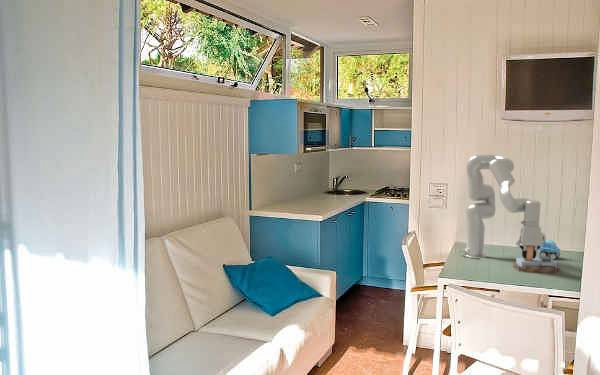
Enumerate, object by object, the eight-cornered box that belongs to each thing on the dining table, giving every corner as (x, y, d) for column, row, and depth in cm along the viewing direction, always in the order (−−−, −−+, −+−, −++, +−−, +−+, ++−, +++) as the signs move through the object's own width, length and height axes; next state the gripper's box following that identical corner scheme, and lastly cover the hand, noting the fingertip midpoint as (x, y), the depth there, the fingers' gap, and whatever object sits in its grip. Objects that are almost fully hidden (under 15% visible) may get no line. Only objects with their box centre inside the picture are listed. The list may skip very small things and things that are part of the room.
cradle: (519, 274, 278) (520, 266, 277) (511, 268, 291) (511, 260, 290) (561, 276, 277) (561, 267, 276) (551, 269, 290) (551, 261, 289)
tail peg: (525, 264, 282) (527, 245, 280) (523, 262, 286) (524, 244, 284) (533, 264, 281) (535, 246, 280) (530, 262, 285) (532, 244, 284)
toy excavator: (531, 253, 327) (533, 225, 325) (561, 258, 316) (563, 229, 314) (527, 255, 320) (529, 227, 318) (557, 260, 310) (559, 231, 308)
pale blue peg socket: (523, 272, 277) (523, 259, 276) (514, 265, 291) (514, 253, 290) (558, 273, 276) (559, 261, 275) (548, 266, 290) (548, 254, 289)
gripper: (517, 224, 278) (515, 259, 280) (550, 225, 277) (547, 260, 279) (512, 222, 285) (510, 255, 287) (544, 223, 284) (542, 256, 286)
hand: (528, 257), depth 283 cm, fingers closed on tail peg, 4 cm apart
